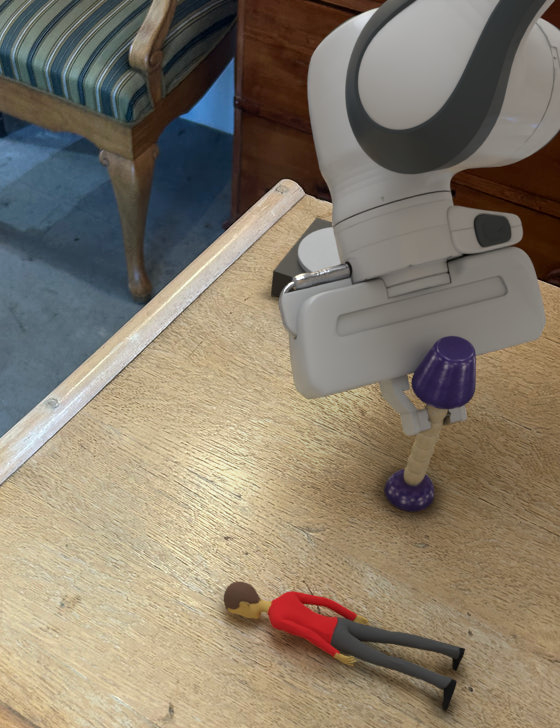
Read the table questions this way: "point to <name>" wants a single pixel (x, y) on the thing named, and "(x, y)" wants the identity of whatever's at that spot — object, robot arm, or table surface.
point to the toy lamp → (433, 416)
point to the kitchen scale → (307, 255)
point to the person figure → (342, 632)
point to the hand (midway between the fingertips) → (436, 428)
